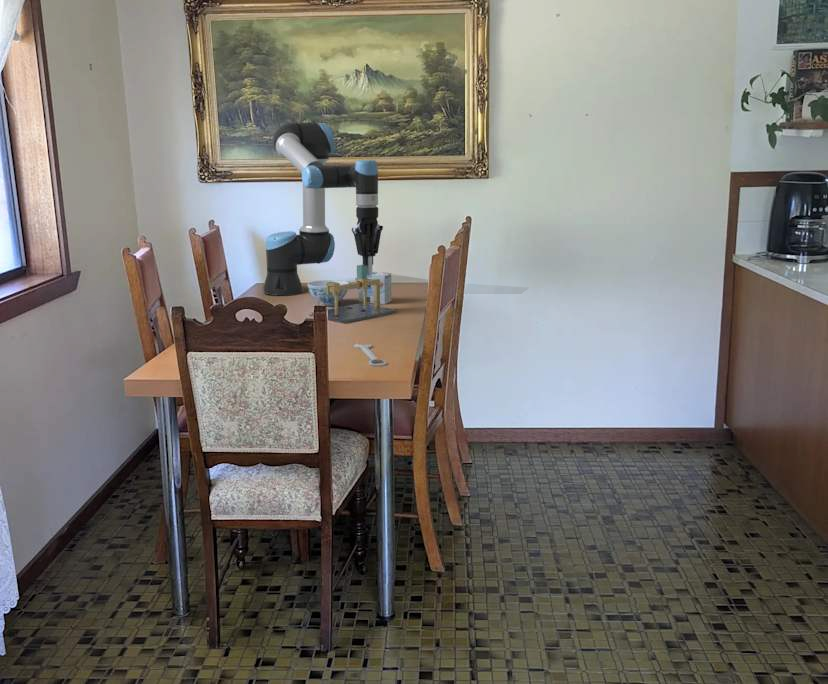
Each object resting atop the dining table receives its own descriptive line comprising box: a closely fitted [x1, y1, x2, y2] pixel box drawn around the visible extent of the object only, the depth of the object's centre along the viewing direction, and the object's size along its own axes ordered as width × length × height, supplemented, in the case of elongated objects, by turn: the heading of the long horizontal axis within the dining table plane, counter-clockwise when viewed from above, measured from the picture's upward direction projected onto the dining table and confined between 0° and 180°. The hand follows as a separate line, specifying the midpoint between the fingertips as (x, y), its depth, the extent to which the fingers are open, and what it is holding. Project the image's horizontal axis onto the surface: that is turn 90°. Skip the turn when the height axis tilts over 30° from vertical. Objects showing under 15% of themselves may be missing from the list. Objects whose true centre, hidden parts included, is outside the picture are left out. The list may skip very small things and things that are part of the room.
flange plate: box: [311, 302, 397, 324], centre depth 295 cm, size 18×24×1 cm
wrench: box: [353, 343, 388, 367], centre depth 241 cm, size 25×2×5 cm
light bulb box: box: [358, 271, 393, 305], centre depth 316 cm, size 11×7×11 cm, turn 70°
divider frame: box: [326, 279, 381, 316], centre depth 295 cm, size 4×22×11 cm, turn 136°
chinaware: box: [307, 279, 349, 307], centre depth 312 cm, size 15×15×8 cm
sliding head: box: [355, 264, 368, 310], centre depth 296 cm, size 4×2×15 cm, turn 46°
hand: (368, 274), depth 297 cm, fingers closed
